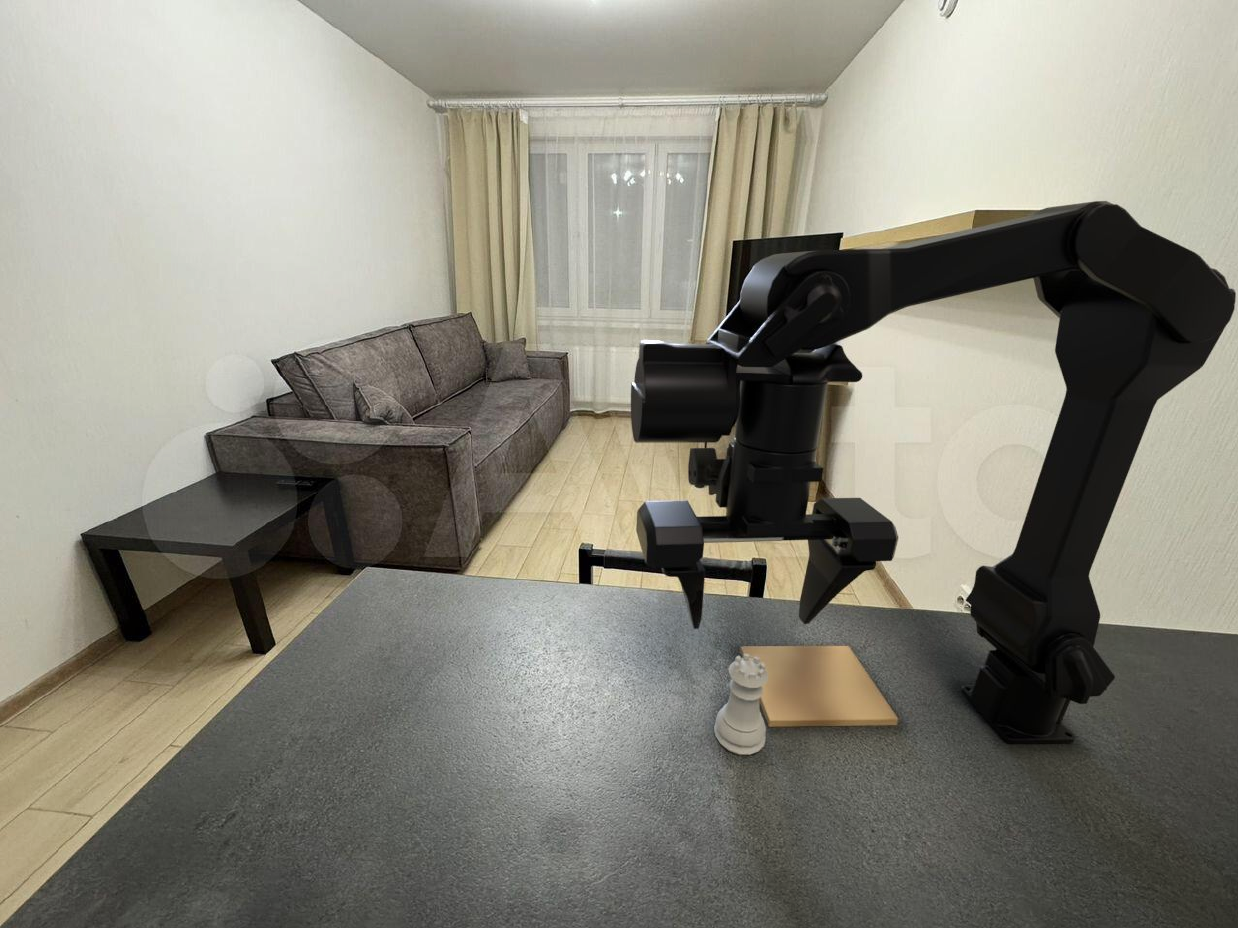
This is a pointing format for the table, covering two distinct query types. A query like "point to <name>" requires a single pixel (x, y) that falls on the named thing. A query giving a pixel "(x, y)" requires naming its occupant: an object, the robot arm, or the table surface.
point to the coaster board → (818, 688)
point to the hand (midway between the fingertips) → (749, 622)
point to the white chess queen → (743, 708)
